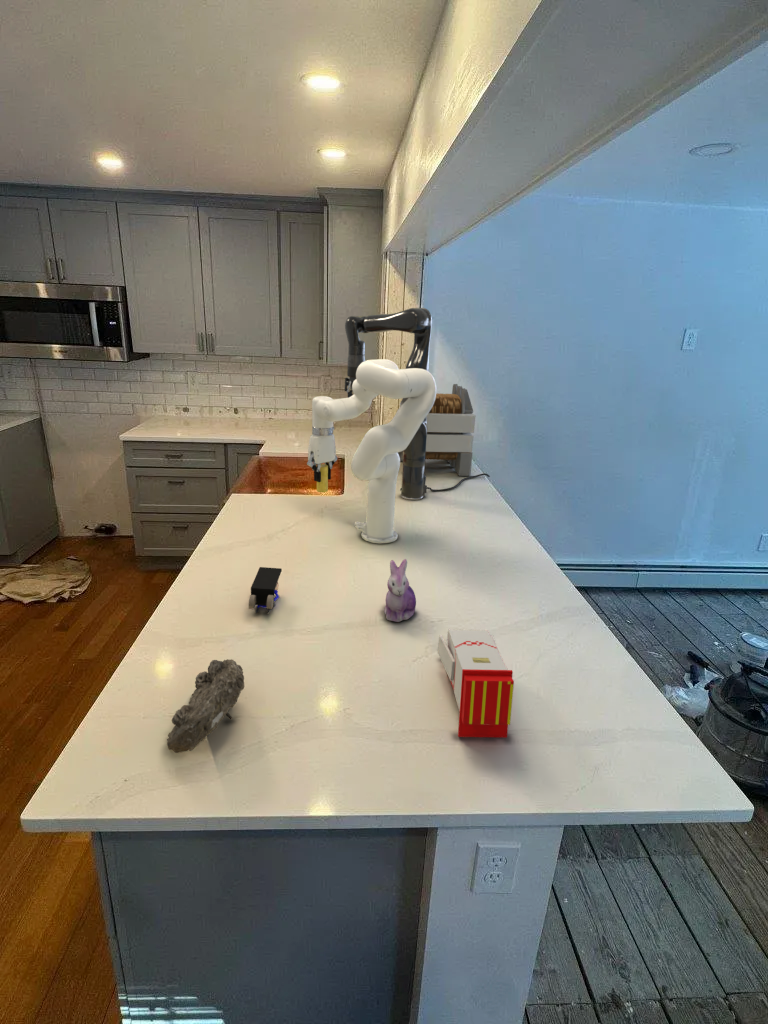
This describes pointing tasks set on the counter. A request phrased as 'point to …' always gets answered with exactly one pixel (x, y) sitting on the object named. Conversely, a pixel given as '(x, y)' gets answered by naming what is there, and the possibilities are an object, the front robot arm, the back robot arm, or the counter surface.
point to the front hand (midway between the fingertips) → (322, 479)
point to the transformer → (450, 430)
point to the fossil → (206, 705)
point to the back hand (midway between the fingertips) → (355, 403)
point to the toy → (478, 682)
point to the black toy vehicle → (264, 588)
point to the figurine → (399, 594)
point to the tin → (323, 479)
